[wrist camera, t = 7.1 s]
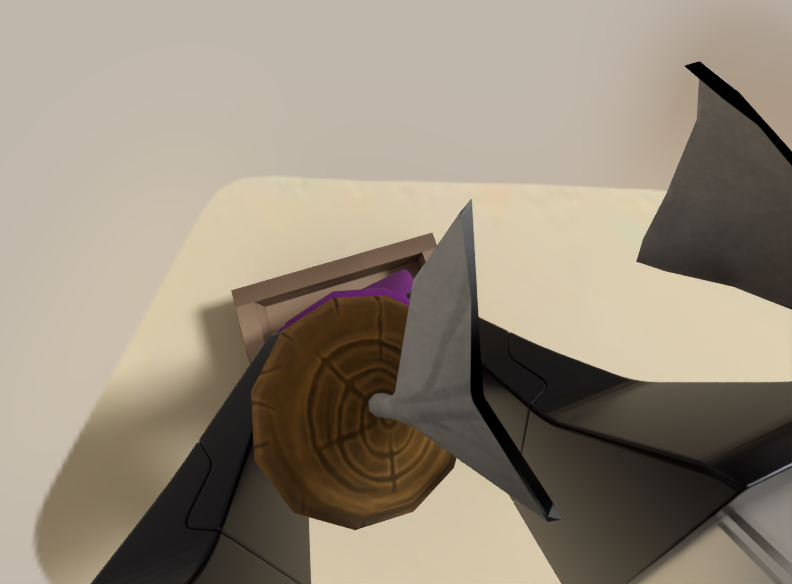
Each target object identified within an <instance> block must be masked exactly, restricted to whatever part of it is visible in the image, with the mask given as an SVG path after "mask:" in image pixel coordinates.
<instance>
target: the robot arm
mask: <svg viewBox="0 0 792 584" xmlns="http://www.w3.org/2000/svg"><path fill="white" fill-rule="evenodd" d="M410 297H411V291H409V292H408V293H407V298H409V299H410ZM478 320H479V337H480V352H481V364H482V377H483V390H484V397H485V399H486V400H487V402H488V403H489V405H490V406H491V408H492V409H493V411H494V412H495V414H496V416H497V417H498V419H499V420H500V422H501V423H502V425H503V426H504V428H505V429H506V431H507V432H508V434H509V436H510V437H511V439H512V440H513V442H514V443H515V445H516V446H517V448H518V449H519V451H520V452H521V454H522V455H523V457H524V459H525V460H526V462H527V463H528V465H529V466H530V468H531V469H532V471H533V472H534V474H535V475H536V477H537V479H538V480H539V482H540V483H541V485H542V486H543V488H544V489H545V491H546V492H547V494H548V495H549V497H550V499H551V500H552V502H553V503H554V505H555V507H556V509H557V511H558V513H559V515H560V517H561V519H562V520H557V521H551V522H547V521H546V520H544V519H543V518H542V517H540V516H539V515H537V514H536V513H534V512H533V511H532V510H530V509H529V508H527V507H526V506H525V505H523V504H522V503H520V502H519V501H517V500H516V499H515V498H513V497H512V496H510V495H509V496H510V498H511V499H512V501H514V505H515V506H516V508H517V510H518V511H519V513H520V515H521V516H522V518H523V520H524V521H525V523H526V525H527V526H528V528H529V530H530V532H531V533H532V535H533V537H534V538H535V540H536V542H537V543H538V545H539V547H540V548H541V550H542V552H543V553H544V555H545V557H546V559H547V560H548V562H549V564H550V565H551V567H552V569H553V570H554V572H555V574H556V575H557V577H558V579H559V581H560V582H561V584H792V381H791V382H645V381H638V380H633V379H629V378H625V377H622V376H619V375H616V374H613V373H610V372H607V371H605V370H602V369H599V368H597V367H594V366H591V365H589V364H586V363H583V362H581V361H578V360H575V359H573V358H570V357H567V356H565V355H562V354H560V353H557V352H555V351H552V350H549V349H547V348H544V347H542V346H540V345H537V344H535V343H533V342H531V341H528V340H526V339H524V338H522V337H520V336H518V335H515V334H513V333H511V332H509V333H508V331H507V330H505V329H503V328H501V327H499V326H496V325H494V324H492V323H490V322H488V321H486V320H484V319H482V318H480V317H478ZM280 333H281V332H279V333H276V334H273V335H270V336H269V337H268V339H267V340H266V342H265V343H264V345H263V346H262V348H261V349H260V351H259V352H258V353H257V355H256V356H255V358H254V359H253V361H252V362H251V364H250V365H249V367H248V368H247V370H246V371H245V373H244V374H243V376H242V377H241V379H240V380H239V382H238V383H237V385H236V386H235V387H234V389H233V390H232V392H231V393H230V395H229V396H228V398H227V399H226V401H225V402H224V404H223V405H222V407H221V408H220V410H219V411H218V413H217V414H216V416H215V417H214V419H213V420H212V421H211V423H210V424H209V426H208V427H207V429H206V430H205V432H204V433H203V435H202V436H201V438H200V439H199V442H200V443H199V442H198V443H197V444H196V445H195V446H194V448H193V449H192V451H191V452H190V454H189V455H188V457H187V458H186V460H185V461H184V462H183V464H182V465H181V467H180V468H179V470H178V471H177V472H176V474H175V475H174V477H173V478H172V479H171V481H170V482H169V484H168V485H167V486H166V488H165V489H164V490H163V491H162V493H161V494H160V495H159V497H158V498H157V499H156V501H155V502H154V503H153V505H152V506H151V507H150V509H149V510H148V511H147V512H146V514H145V515H144V516H143V518H142V519H141V520H140V521H139V523H138V524H137V525H136V527H135V528H134V529H133V530H132V532H131V533H130V534H129V535H128V537H127V538H126V539H125V541H124V542H123V543H122V544H121V546H120V547H119V548H118V550H117V551H116V552H115V553H114V555H113V556H112V557H111V559H110V560H109V561H108V562H107V564H106V565H105V566H104V567H103V569H102V570H101V571H100V573H99V574H98V575H97V576H96V578H95V579H94V580H93V581H92V583H91V584H311V570H310V541H309V517H307V516H303V515H300V514H296V513H293V511H292V510H291V509H290V507H289V506H288V505H287V503H286V502H285V501H284V499H283V498H282V497H281V495H280V494H279V493H278V491H277V490H276V488H275V487H274V486H273V484H272V483H271V482H270V480H269V479H268V478H267V476H266V475H265V474H264V472H263V471H262V470H261V468H260V467H259V466H258V464H257V463H256V462H255V460H254V442H253V420H252V398H251V390H252V388H253V387H254V385H255V383H256V381H257V379H258V377H259V375H260V373H261V371H262V369H263V367H264V365H265V363H266V361H267V359H268V357H269V355H270V353H271V351H272V349H273V347H274V345H275V343H276V341H277V339H278V337H279V335H280Z"/></svg>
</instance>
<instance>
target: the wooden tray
mask: <svg viewBox="0 0 792 584" xmlns="http://www.w3.org/2000/svg"><path fill="white" fill-rule="evenodd" d="M436 247H437V244H436V241H435V239H434V236H433V233H430V234H426V235H423V236H419V237H416V238H412V239H409V240H405V241H402V242H398V243H395V244H391V245H388V246H384V247H381V248H377V249H374V250H370V251H367V252H363V253H360V254H356V255H353V256H349V257H346V258H343V259H339V260H336V261H332V262H329V263H325V264H322V265H318V266H315V267H311V268H308V269H304V270H301V271H297V272H294V273H290V274H287V275H283V276H280V277H276V278H273V279H269V280H266V281H263V282H259V283H256V284H252V285H249V286H245V287H242V288H238V289H235V290H231V291H232V295H233V299H234V303H235V307H236V311H237V315H238V319H239V323H240V327H241V331H242V335H243V339H244V343H245V347H246V351H247V355H248V359H249V363H250V364H251V362H252V361H253V359H254V358H255V356H256V355H257V353H258V352H259V351H260V349H261V348H262V346H263V345H264V343H265V342H266V340H267V339H268V337H269V336H270V335H273V334H276V333H278V330H279V329H280V328H281V327H283V326H285V324H286V322H287V321H288V320H290V319H291V318H293V317H295V316H296V315H298V314H299V313H301V312H302V311H304V310H305V309H307V308H308V307H310V306H311V305H313V304H314V303H316V302H317V301H319V300H320V299H322V298H323V297H325V296H326V295H328V294H329V293H331V292H333V291H345V290H359V289H363V288H365V287H367V286H369V285H371V284H373V283H375V282H377V281H379V280H381V279H383V278H386V277H388V276H390V275H392V274H394V273H396V272H398V271H400V270H404V269H406V270H407V271H408V272H409V273H410V275H411V277H412V278H413V280H414V278H415V277H416V275H417V274H418V273H419V271H420V270H421V268H422V267H423V265H424V264H425V262H426V261H427V260H428V258H429V257H430V255H431V254H432V252H433V251H434V249H435V248H436Z"/></svg>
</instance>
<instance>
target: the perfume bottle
mask: <svg viewBox="0 0 792 584" xmlns="http://www.w3.org/2000/svg"><path fill="white" fill-rule="evenodd" d="M685 67H686V68H687V69H688V70H690V71H691V72H692V73H693V74H694V75H696V76H697V77H698V78H699V91H698V110H697V120H696V123H695V125H694V128H693V130H692V133H691V135H690V138H689V140H688V142H687V145H686V147H685V150H684V152H683V155H682V157H681V159H680V162H679V164H678V167H677V169H676V172H675V174H674V177H673V179H672V181H671V184H670V186H669V189H668V191H667V194H666V196H665V198H664V199H663V201H662V203H661V205H660V207H659V209H658V211H657V213H656V215H655V217H654V219H653V221H652V223H651V225H650V227H649V229H648V231H647V233H646V235H645V236H644V238H643V241H642V245H641V248H640V251H639V255H638V258H637V261H636V262H639V263H642V264H645V265H648V266H651V267H654V268H657V269H660V270H663V271H667V272H671V273H676V274H680V275H684V276H689V277H693V278H698V279H702V280H706V281H711V282H715V283H720V284H724V285H728V286H733V287H736V288H738V289H741V290H743V291H746V292H748V293H751V294H753V295H756V296H758V297H761V298H764V299H766V300H769V301H771V302H774V303H776V304H779V305H781V306H784V307H786V308H789V309H792V151H791V150H790V149H789V148H788V147H787V145H786V144H785V143H784V142H783V141H782V140H781V139H780V138H779V137H778V136H777V134H776V133H775V132H774V131H773V130H772V129H771V128H770V126H769V125H768V124H767V123H766V122H765V121H764V120H763V119H762V118H761V116H760V115H758V113H757V112H756V111H755V110H754V109H753V108H752V107H751V105H750V104H749V103H748V102H747V101H746V100H745V99H744V97H742V95H741V94H740V93H739V92H738V91H737V90H736V89H734V88H733V87H732V86H731V85H730V84H729V83H727V82H726V81H725V80H724V79H723V78H722V77H720V76H719V75H718V74H717V73H716V72H715V71H713V70H712V69H711V68H710V67H709V66H708V65H706V64H704V63H702V62H696V63H692V64H689V65H686V66H685ZM409 291H411V297H410V299H409V298H407V293H408V292H409ZM279 332H281V333H280V335H279V337H278V339H277V341H276V343H275V345H274V347H273V349H272V351H271V353H270V355H269V357H268V359H267V361H266V363H265V365H264V367H263V369H262V371H261V373H260V375H259V377H258V379H257V381H256V383H255V385H254V387H253V388H252V390H251V398H252V420H253V442H254V460H255V462H256V463H257V464H258V466H259V467H260V468H261V470H262V471H263V472H264V474H265V475H266V476H267V478H268V479H269V480H270V482H271V483H272V484H273V486H274V487H275V488H276V490H277V491H278V493H279V494H280V495H281V497H282V498H283V499H284V501H285V502H286V503H287V505H288V506H289V507H290V509H291V510H292V511H293V513H296V514H300V515H303V516H307V517H310V518H314V519H317V520H321V521H325V522H328V523H332V524H335V525H339V526H343V527H346V528H350V529H353V530H357V529H360V528H363V527H366V526H369V525H373V524H376V523H379V522H382V521H385V520H388V519H391V518H395V517H398V516H401V515H404V514H407V513H410V512H413V511H414V510H415V509H416V508H417V507H418V506H419V505H420V504H421V503H422V502H423V501H424V500H425V498H426V497H427V496H428V495H429V494H430V493H431V492H432V491H433V490H434V489H435V488H436V487H437V485H438V484H439V483H440V482H441V481H442V480H443V479H444V478H445V477H446V476H447V475H448V473H449V472H450V471H451V470H452V469H453V468H454V465H455V462H456V458H458V459H459V460H461V461H462V462H463V463H465V464H466V465H468V466H469V467H470V468H472V469H473V470H475V471H476V472H478V473H479V474H480V475H482V476H483V477H485V478H486V479H488V480H489V481H490V482H492V483H493V484H495V485H496V486H497V487H499V488H500V489H502V490H503V491H505V492H506V493H507V494H509V495H510V496H512V497H513V498H515V499H516V500H517V501H519V502H520V503H522V504H523V505H525V506H526V507H527V508H529V509H530V510H532V511H533V512H534V513H536V514H537V515H539V516H540V517H542V518H543V519H544V520H546V521H547V522H551V521H557V520H562V519H561V517H560V515H559V513H558V511H557V509H556V507H555V505H554V503H553V502H552V500H551V499H550V497H549V495H548V494H547V492H546V491H545V489H544V488H543V486H542V485H541V483H540V482H539V480H538V479H537V477H536V475H535V474H534V472H533V471H532V469H531V468H530V466H529V465H528V463H527V462H526V460H525V459H524V457H523V455H522V454H521V452H520V451H519V449H518V448H517V446H516V445H515V443H514V442H513V440H512V439H511V437H510V436H509V434H508V432H507V431H506V429H505V428H504V426H503V425H502V423H501V422H500V420H499V419H498V417H497V416H496V414H495V412H494V411H493V409H492V408H491V406H490V405H489V403H488V402H487V400H486V399H485V397H484V390H483V377H482V364H481V352H480V337H479V320H478V302H477V285H476V267H475V250H474V232H473V215H472V199H471V200H470V201H469V202H468V204H467V205H466V206H465V207H464V209H463V210H462V211H461V212H460V213H459V215H458V216H457V218H456V219H455V221H454V222H453V223H452V225H451V226H450V228H449V229H448V231H447V232H446V234H445V235H444V236H443V238H442V239H441V241H440V242H439V244H438V245H437V247H436V248H435V249H434V251H433V252H432V254H431V255H430V257H429V258H428V260H427V261H426V262H425V264H424V265H423V267H422V268H421V270H420V271H419V273H418V274H417V275H416V277H415V278H414V280H413V278H412V277H411V275H410V273H409V272H408V271H407V270H406V269H404V270H400V271H398V272H396V273H394V274H392V275H390V276H388V277H386V278H383V279H381V280H379V281H377V282H375V283H373V284H371V285H369V286H367V287H365V288H363V289H359V290H345V291H333V292H331V293H329V294H328V295H326V296H325V297H323V298H322V299H320V300H319V301H317V302H316V303H314V304H313V305H311V306H310V307H308V308H307V309H305V310H304V311H302V312H301V313H299V314H298V315H296V316H295V317H293V318H291V319H290V320H288V321H287V322H286V324H285V326H283V327H281V328H280V329H279V330H278V333H279Z"/></svg>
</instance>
